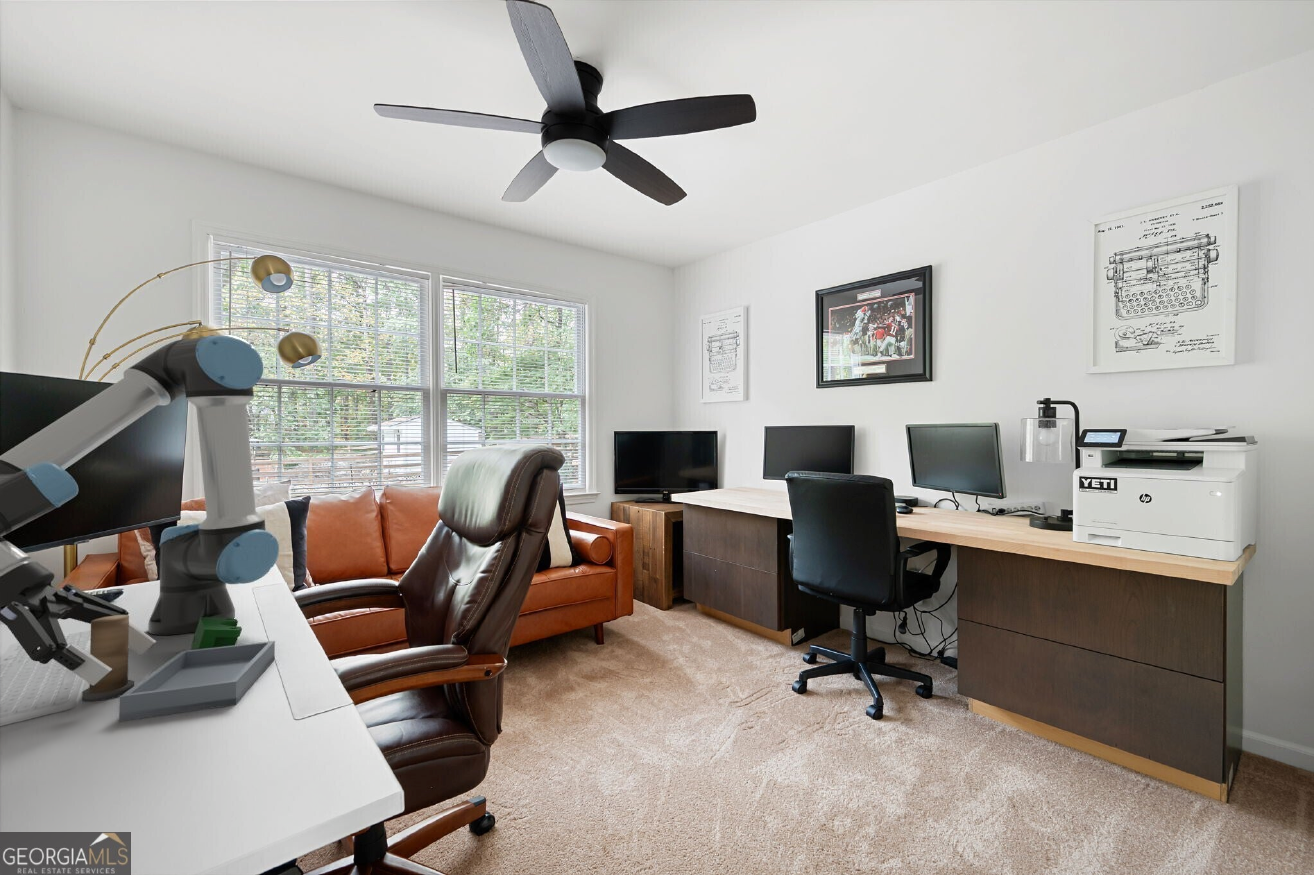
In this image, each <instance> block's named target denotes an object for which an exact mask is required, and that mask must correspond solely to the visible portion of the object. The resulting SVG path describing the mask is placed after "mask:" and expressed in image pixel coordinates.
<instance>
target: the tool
mask: <svg viewBox="0 0 1314 875" xmlns="http://www.w3.org/2000/svg"><path fill="white" fill-rule="evenodd" d="M129 622H130V614H128V615H115V616H108V617H103V618H99V619H95V620H93V621H91V624H90V643H89V644H90V647H89V648H90V650H89V651H90V652H89V654H91V655H92V656H94V657H95V658H97V659H98V660H100V661H101V662H103V663H104V664H105V665H107V666H108V667H110V668H111V669H112V670H111V671H110V672H109V673H108V674H107V675H105V676H104V677H103V678H102V679H101V680H100V681H99V682H98V683H96V684H95V685H94V686H93V685H91V684H90V683H89V687H88V688H86V689H85V690H83V691H82V693H81V700H82V701H83V702H86V703H92V702H101V701H105V700H110V699H114V698H115V699H116V698H118V697H120V696H122V695H123V694H124V693H126V692H127V691H128V690H130V689H131V688H132V687H134V686H135V680H134V679H129V647H128V646H129Z"/></svg>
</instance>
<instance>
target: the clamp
mask: <svg viewBox="0 0 1314 875" xmlns="http://www.w3.org/2000/svg"><path fill="white" fill-rule="evenodd" d="M238 623H239V621H238V619H236V618H235V619H233V618H212V617H200V620H199V623H198V626H197V629H196V632H194V634H193V639H192V641H191V650H197V649H206V648H215V647H224V646H233V645H236V644H237V642H238V638H239V637H241V634H242V629H243V627H242V626H238Z"/></svg>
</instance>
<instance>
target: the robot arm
mask: <svg viewBox="0 0 1314 875" xmlns="http://www.w3.org/2000/svg"><path fill="white" fill-rule="evenodd" d="M263 374H264V363H263V360H262V357H261V355H260V353H259V352H258V350H257V349H256V348H255V347H254V346H252V345H251V344H250V343H249V342H248V341H247V340H245V339H243V338H241V337H238V336H234V335H229V334H209V335H206V336H200V337H194V338H184V339H178V340H177V339H176V340H174V341H172V342H169V343H167V344H165V345H163V346H162V347H159V348H158V349H156V350H155V351H153V352H152V353H150V354H148V355H147V356H146V357H144V358H142V359H141V360H139V361H138V362H136V363H134V364H133V365H132V366H130V367H128V368H127V369H125V370H124V371H123V378H122V379H119V381H117V382H115V383H113V384H112V385H110V386H109V387H107V388H105V389H104V390H102V391H101V392H100V393H98V394H96V395H95V396H93V397H91V398H90V399H88V400H86V401H85V402H84V403H82V404H80V405H79V406H77V407H75V408H74V409H72V410H71V411H69V412H67V413H66V414H64V415H63V416H61V417H60V418H57V419H56V420H55V421H54V422H52V423H50V424H49V425H47V426H46V427H44V428H42V429H41V430H40V431H38V432H36V433H34V434H33V435H31V436H29V437H28V438H27V439H25V440H24V441H22V442H20V443H18V444H17V445H15V446H14V447H12V448H10V449H9V450H7V451H6V452H5V453H2V454H1V455H0V622H1V623H2V624H4V625H5V626H6V627H7V628H8V630H9V631H10V632H11V634H12V635H13V636H14V638H15V639H16V641H17V642H18V644H20V646H21V647H22V649H23V650H24V652H25V653H26V654H27V655H28V657H29V658H30V660H32V661H34V662H39V663H40V664H41V665H46V664H48V663H49V662H50V661H52V660H54V661H56V662H57V663H58V664H60V665H62V666H63V667H64V668H66V669H67V670H69V671H70V672H72V673H73V674H75V675H77V676H78V677H79V678H80V679H82V680H83V681H86V682H87V683H88V684H89V685H90V684H91V685H93V686H94V685H95V684H96V683H98V682H99V681H100V680H101V679H102V678H103V677H104V676H105V675H107V674H108V673H109V672H110V671H111V670H112V669H111V668H110V667H108V666H107V665H105V664H104V663H103V662H101V661H100V660H98V659H97V658H95V657H94V656H92V655H91V654H90V652H87V650H85V649H83V648H82V647H81V646H79V645H77V644H76V643H74V642H73V643H72V644H70V645H69V646H68V642H67V639H66V637H65V634H64V632H63V630H62V628H61V624H60V622H59V620H64V621H65V620H68V619H71V620H74V621H79V622H83V623H85V624H90V625H91V621H93V620H95V619H99V618H103V617H108V616H115V615H130V614H129V612H128V611H127V609H125V608H123V607H120V606H118V605H116V604H114V603H111V602H110V601H109V602H108V601H106V600H104V599H102V598H100V597H97V596H95V595H92V594H90V593H88V592H86V591H83V590H81V589H80V588H78V587H77V586H75V585H74V584H72V583H65V585H64V586H62V587H61V588H60V589H59V588H57V587H55V586H52V582H53V581H54V579H55V577H56V576H55V575H56V574H54V572H52V571H51V570H49V569H48V568H47V567H45V566H44V565H42V564H41V563H39V562H38V561H32V557H31V556H30V555H29V554H27V553H26V552H24V551H23V550H21V549H20V548H18V547H17V546H16V545H14V544H13V543H11V542H10V541H8V540H7V539H5V538H4V537H3V536H5V535H7V534H9V533H11V532H12V531H14V530H16V529H18V528H20V527H23V526H24V525H27V523H30V522H31V521H34V520H35V519H38V518H39V517H41V516H43V515H45V514H48V513H49V512H51V511H53V510H55V509H57V508H60V507H61V506H63V505H64V504H65V503H67V502H68V501H70V500H72V499H74V498H75V497H76V496H77V495H78V494H79V485H78V483H77V482H76V480H75V479H74V477H73V476H72V475H71V474H70V473H69V472H68V471H66V469H68V467H71V466H72V465H73V464H75V463H77V462H78V461H79V460H81V459H82V458H83V457H85V456H86V455H87V454H89V453H90V452H92V451H94V450H95V449H97V448H98V447H99V446H101V445H103V444H104V443H105V442H107V441H108V440H109V439H111V438H112V437H114V436H116V435H117V434H118V433H120V432H121V431H123V430H124V429H125V428H127V427H128V426H130V425H131V424H133V423H134V422H136V421H137V420H138V419H140V418H141V417H143V416H144V415H145V414H147V413H148V412H149V411H151V410H153V409H154V408H155V407H157V406H167V405H169V404H170V403H172V402H174V401H175V400H177V399H179V398H180V397H183V396H185V399H186V401H188V402H189V403H190V404H192V405H193V406H195V410H196V419H197V427H198V428H197V430H198V438H199V440H198V441H199V448H200V450H199V451H200V460H201V462H200V463H201V471H202V481H203V492H204V501H205V502H204V503H205V512H206V513H205V515H206V516H205V517H206V518H204V520H203V521H202V522H199V523H192V524H191V523H190V524H184V525H177V526H170V527H167V528H164V529H163V530H162V532H161V536H160V542H159V550H160V551H159V596H158V598H157V600H156V602H155V605H154V608H153V610H152V612H151V615H150V618H149V620H148V625H147V626H148V628H147V629H148V631H147V632H148V633H149V634H150V635H158V636H167V635H168V636H171V635H181V634H187V633H188V634H189V633H195V632H196V629H197V626H198V623H199V620H200V617H212V618H233V619H234V618H235V619H236V608H235V606H234V604H233V601H232V598H231V596H230V594H229V590H228V588H227V584H228V585H240V584H250V583H254V582H255V581H259V580H260V579H261V578H263V577H265V576H266V575H267V574H268V573H269V572H270V571H271V569H272V568H273V567H274V566H275V564H276V562H277V560H278V559H279V555H280V554H279V553H280V544H279V541H278V539H277V537H276V536H274V535H273V534H272V533H271V532H270V531H267V529H266V519H265V516H264V515H262V514H260V513H258V512H257V510H256V501H255V500H256V499H255V490H254V478H253V468H252V467H253V466H252V457H251V456H252V454H251V446H250V445H251V443H250V433H249V423H248V411H247V405H249V403H250V402H251V401H252V400H253V399H254V398H255V394H254V393H255V392H254V386H255V385H257V384H258V383H259V381H260V380H261V379H262V377H263ZM149 634H147V633H145V632H144V631H142V630H141V629H140V628H138V627H136V626H135V625H134V624H133V623H131V622H130V621H129V646H128V649H131V650H132V651H133V652H135V653H136V654H138V655H139V656H142V655H143V654H144V653H145V652H146V651H148V650H149V649H150V648H151V647H152V646H153V645H154V644H155V643H157V640H155V639H154V638H152V637H151V636H150V635H149Z"/></svg>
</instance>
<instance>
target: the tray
mask: <svg viewBox="0 0 1314 875" xmlns="http://www.w3.org/2000/svg"><path fill="white" fill-rule="evenodd" d="M275 643H276V641H275V640H271V641H261V642H253V643H243V644H237V645H233V646H224V647H215V648H206V649H197V650H192V649H191V650H189V649H188V650H181V651H180V652H179V653H177V654H176V655H175V656H174V657H172V658H171V659H170V660H168V661H167V662H166V663H164V664H162V665H161V666H160V667H158V668H157V669H155V670H154V671H153V672H152V673H150V674H149V675H148V676H146V677H145V678H144V679H142V680H141V681H139V682H138V683H137V684H134V687H132V688H131V689H130V690H128V691H127V692H126V693H124V694H123V695H121V696H119V713H118V716H119V717H118V721H119V722H124V721H125V722H126V721H131V720H137V719H139V720H140V719H145V718H151V717H159V716H165V715H166V716H167V715H173V714H181V713H187V712H188V713H189V712H193V711H200V710H209V709H213V708H222V707H229V706H236V705H237V704H238V703H239V702H240V701H241V700H242V698H243V697H244V696H245V695H246V694H247V692H249V690H250V689H251V688H252V686H253V685H254V684H255V683H256V682H257V681H258V679H259V678H261V676H262V675H263V673H265V672H266V671H267V669H268V668H269V667H270V665H271V664H272V663H273V662H274V661H275V660H274V659H275V656H276V655H275V653H276V652H275V650H276V648H275V645H276V644H275ZM268 666H269V667H268Z"/></svg>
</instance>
